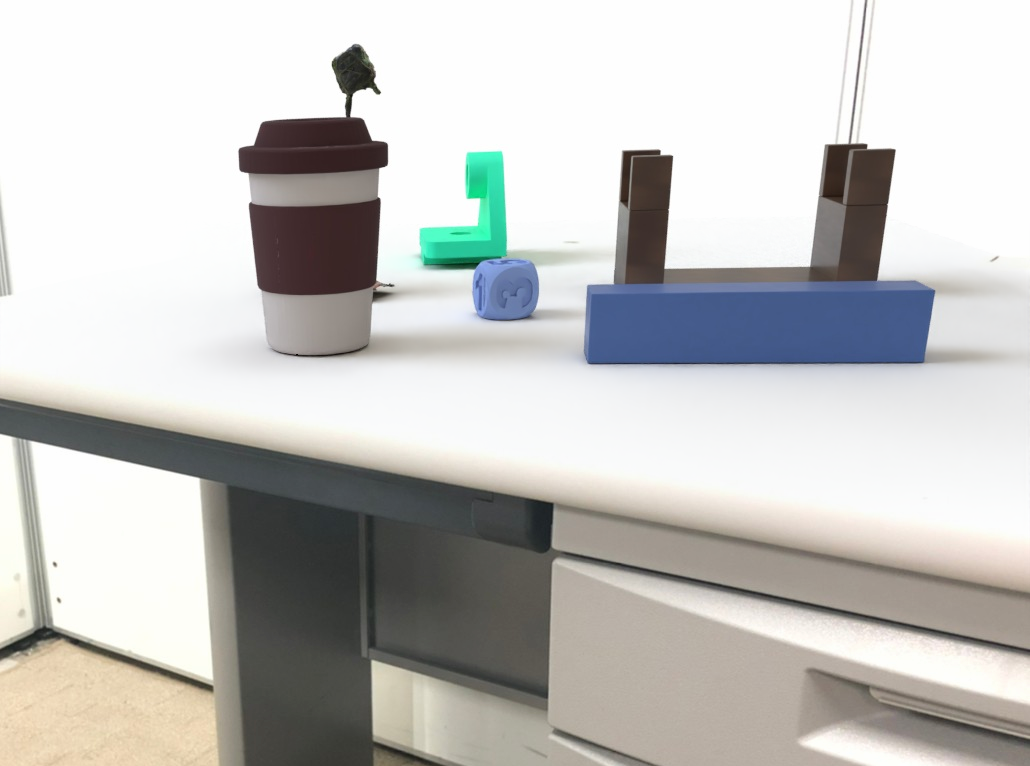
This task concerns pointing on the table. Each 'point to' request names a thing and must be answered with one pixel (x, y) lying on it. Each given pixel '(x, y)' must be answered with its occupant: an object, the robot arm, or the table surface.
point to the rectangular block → (758, 322)
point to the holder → (835, 257)
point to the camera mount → (491, 231)
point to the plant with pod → (355, 83)
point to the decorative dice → (505, 289)
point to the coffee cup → (315, 230)
